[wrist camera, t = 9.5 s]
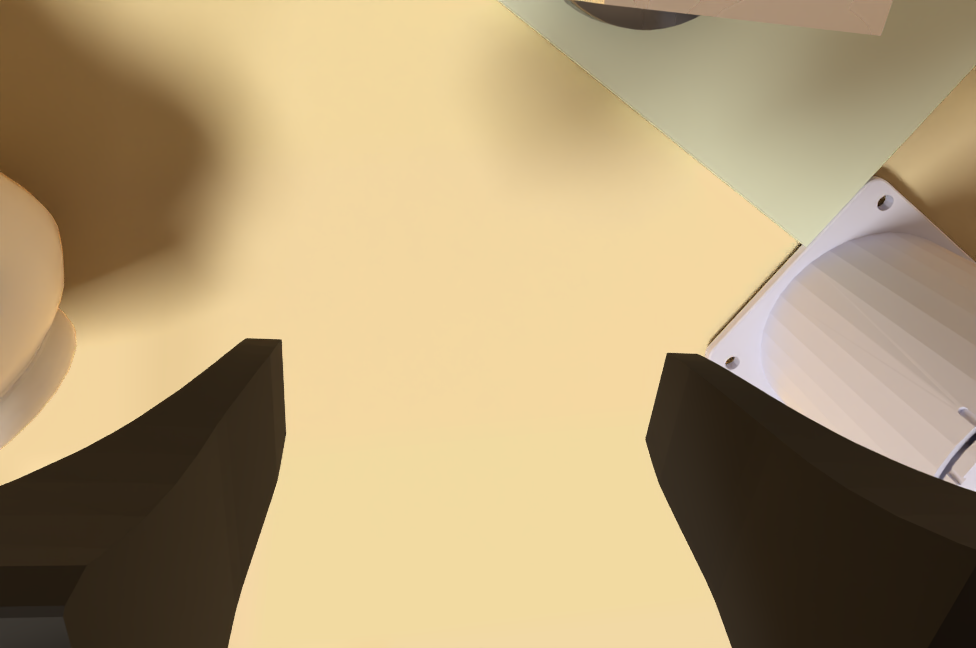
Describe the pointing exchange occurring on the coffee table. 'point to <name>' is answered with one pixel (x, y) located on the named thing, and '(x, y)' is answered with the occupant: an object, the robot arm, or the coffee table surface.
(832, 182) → the mat
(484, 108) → the coffee table surface
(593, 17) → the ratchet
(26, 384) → the flower vase
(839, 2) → the socket
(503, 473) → the coffee table surface
